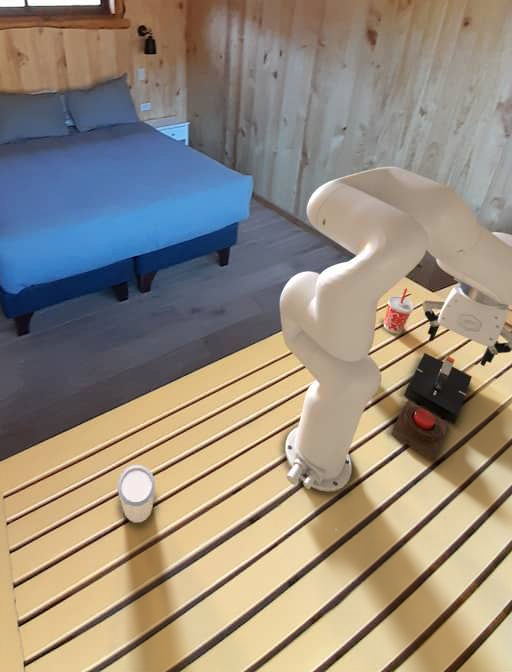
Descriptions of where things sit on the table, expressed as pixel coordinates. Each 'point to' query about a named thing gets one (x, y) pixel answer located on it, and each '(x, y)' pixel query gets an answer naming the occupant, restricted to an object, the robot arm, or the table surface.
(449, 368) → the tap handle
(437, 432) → the button block
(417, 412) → the button
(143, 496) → the white lidded tub
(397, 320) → the beverage cup
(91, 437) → the table surface
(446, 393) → the black lever switch base
